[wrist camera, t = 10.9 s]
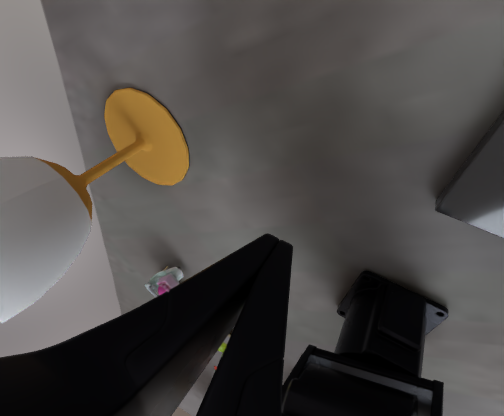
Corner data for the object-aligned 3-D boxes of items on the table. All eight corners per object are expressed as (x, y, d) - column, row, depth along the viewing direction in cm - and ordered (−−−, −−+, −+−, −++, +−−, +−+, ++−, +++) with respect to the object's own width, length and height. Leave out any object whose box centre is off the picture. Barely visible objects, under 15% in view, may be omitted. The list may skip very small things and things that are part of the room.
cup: (95, 129, 30) (-114, 237, 19) (123, 61, 24) (-170, 166, 13) (164, 198, 31) (5, 335, 21) (208, 152, 25) (10, 317, 14)
